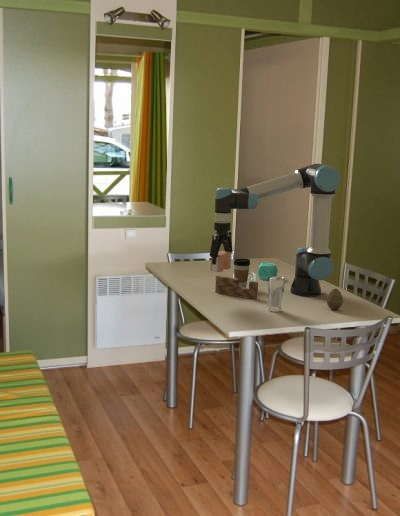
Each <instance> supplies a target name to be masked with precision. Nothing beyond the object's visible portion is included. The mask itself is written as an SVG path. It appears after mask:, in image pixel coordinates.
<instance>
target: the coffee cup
mask: <svg viewBox="0 0 400 516" xmlns="http://www.w3.org/2000/svg"><path fill="white" fill-rule="evenodd" d="M250 266H251V260H250V259H249V258H235V259H234V260H233V267H234V268H233V275H234V276H233V278H237V279H239V287H242V288H248V280H249V279H248V278H249V272H250Z"/></svg>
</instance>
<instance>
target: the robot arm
mask: <svg viewBox="0 0 400 516" xmlns="http://www.w3.org/2000/svg"><path fill="white" fill-rule="evenodd" d="M340 182H341V177H340V174H339V171H338V169H336V168H335V167H333V166H332V165H330V164H324V163H323V164H322V163H313V164H310V165H307V166H304V167H301V168H297V169H295V171H294V172H292V173H289V174H285V175H282V176H279V177H275V178H272V179H268V180H265V181H262V182H258V183H255V184H252V185H249V186H245V187H241V188H234V189H232V188H231V187H230V188H229V187H218V188H216V190H215V195H214V224H213V229H214V231H216V232H215V233H216V234H212V235H211V236H212V238H211V239H212V240H211V245H210V250H209V257H210V258H211V257H212V271H211V272H215V271H216V272H217V271H218V257H217V256H218V253H219V251H221V247H223V251H228V252H231V255H232V254H233V241H232V231H231V225H232V223H231V221H232V210H248V211H249V210H255V209H257V207H258V204H259V203H258V201H259V200H262V199H265V198H269V197H272V196H275V195H279V194H283V193H285V192H289V191H292V190H295V189H300V190H303V189H307V188H309V189H310V190H309V191H310V192H309V194H310V195H311V196H312V212H311V226H310V241H309V242H310V243H309V247H308V246H307V247H306V246H305V247H298V248H297V249H296V253H295V268H294V269H295V271H294V278H293V281H292V283H291V285H290V293H291V294H293V295H296V296H302V297H303V296H304V297H316V296H320V295H321V294H322V288H321V285H320V284H321V283H320V281H324V280H327V279H329V277H331V275H332V274H333V271H334V264H333V261H332V251H331V250H330V248H329V241H330V240H329V239H330V228H331V227H330V226H331V213H332V212H331V211H332V199H333V197H334V196H336V191H337V190H336V189H337V188H338V187H339V185H340ZM216 272H215V273H216ZM217 273H218V272H217Z"/></svg>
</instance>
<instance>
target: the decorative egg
mask: <svg viewBox="0 0 400 516" xmlns="http://www.w3.org/2000/svg"><path fill="white" fill-rule="evenodd" d="M343 301H344V299H343V295H342V293H341V291H340V290H339V289H338V288H333V289H332V290H331V291H330V292H329V293H328V295H327V298H326V304H327V307H328V308H329V309H331V310H333V311H336V310H339V309H340V308H341V307H342V305H343Z"/></svg>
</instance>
